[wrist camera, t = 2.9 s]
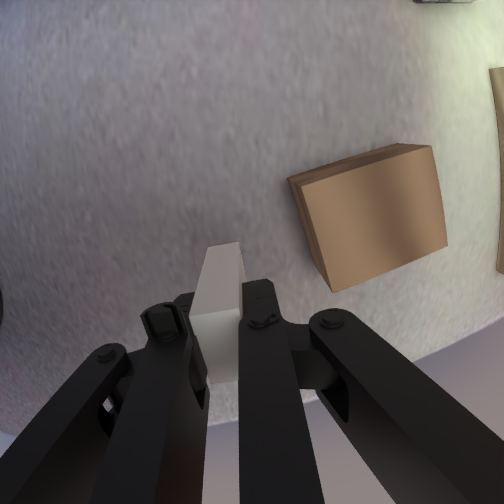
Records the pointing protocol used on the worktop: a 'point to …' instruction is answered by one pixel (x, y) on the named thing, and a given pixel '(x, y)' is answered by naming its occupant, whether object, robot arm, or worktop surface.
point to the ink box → (422, 0)
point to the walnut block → (371, 212)
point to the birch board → (500, 79)
